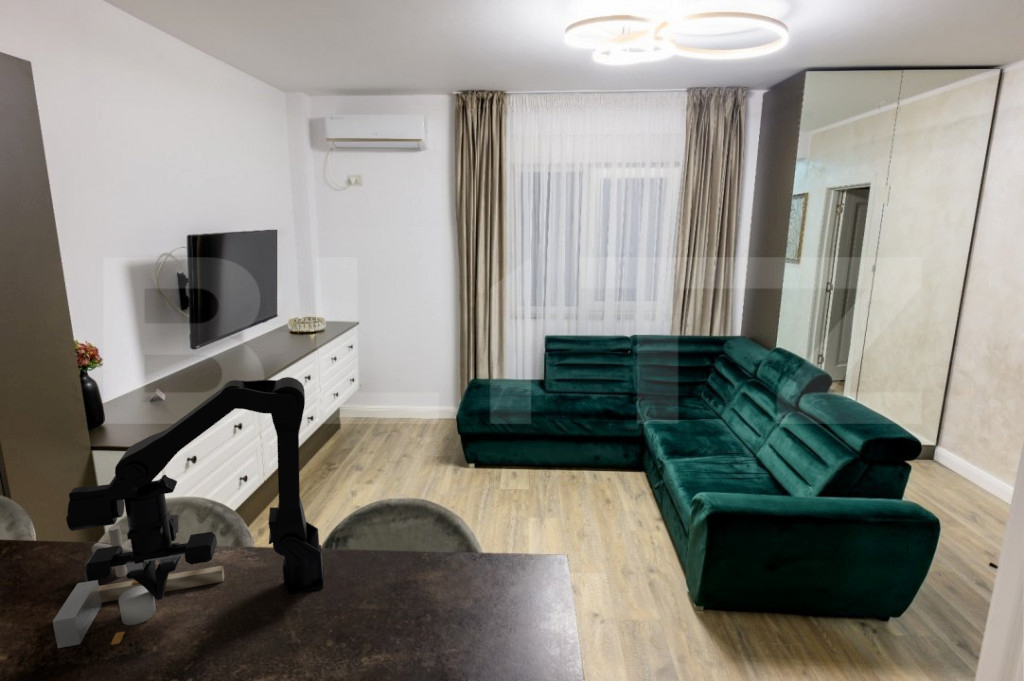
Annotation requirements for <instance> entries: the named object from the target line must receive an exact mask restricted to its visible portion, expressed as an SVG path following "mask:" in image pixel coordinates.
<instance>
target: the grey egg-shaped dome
mask: <svg viewBox="0 0 1024 681" xmlns="http://www.w3.org/2000/svg"><path fill="white" fill-rule="evenodd" d="M155 600H156V599H155V597H154V596H153V595H152V594H151V593H150V592H149V591H148V590H147V589H146V588H145V587H143V586H138V587H134V588H132V589H129V590H127V591H126V592H124V593H123V594H122V595H121V596H120V597H119V600H118V606H119V611H120V617H121V622H122V623H123V624H124V625H126V626H135V625H139V624H141V623H144V622H146V621H148V620H150V619H151V618H152V617H153V616H154V615H155V614H156V612H157V609H156V608H157V607H156V601H155Z"/></svg>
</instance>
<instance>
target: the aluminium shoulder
mask: <svg viewBox="0 0 1024 681" xmlns="http://www.w3.org/2000/svg"><path fill="white" fill-rule="evenodd" d="M99 586H100V585H99V580H95V581H89V582H88V581H84V582H78V583H77V584H76V585H75V587H74V589H73V590H72V591H71V593H70V594H69V596H68V597H67V599H66V600H65V602H64V603H63V605H62V606H61V608H60V609H59V611H58V613H57V614H56V616H55V617H54V618H53V620H52V626H53V631H54V636H55V641H56V645H57V649H61V648H66V647H67V648H68V647H72V646H77V645H81V643H82V642H83V640H84V638H85V635H87V632H88V630H89V629H90V628H91V625H92V623H93V621H94V620H95V618H96V616H97V615H98V613H99V611H100V609H101V608H102V606H103V602H101V596H100V590H99Z"/></svg>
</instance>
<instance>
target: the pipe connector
mask: <svg viewBox="0 0 1024 681" xmlns="http://www.w3.org/2000/svg"><path fill="white" fill-rule="evenodd" d="M108 534H109V536H108V537H109V541H110V544H108V543H102V542H101V543H100V542H99V543H98V542H96V543H95V544H93V545H92V547H91V552H92V554H93V553H94V552H95V551H96V550H97V549H100V548H106V547H113V546H121V547H122V548H123V553H126V552H132V546H131V540H130V539H129V540H128V539H126V540H125V541H123V538H122V531H121V526H120V525H119V524H118V525H115V524H114V525H113V526H112V525H111V526H110V527H108ZM114 571H115V576H116V578H122V577H125V576H126V575H127V573H128V569H127V567H126V565H120V566H114Z"/></svg>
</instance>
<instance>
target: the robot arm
mask: <svg viewBox="0 0 1024 681" xmlns="http://www.w3.org/2000/svg"><path fill="white" fill-rule="evenodd" d="M305 404H306V397H305V388H304V385H303V383H302V382H301V381H299V379H297V378H295V377H290V376H286V377H281V378H279V379H278V380H276V379H259V380H237V379H234V380H230V381H227V382H226V383H225V384H224V385H223V386H222V388H220V389H219V390H217V391H216V392H215V393H214V394H212V395H211V396H210V397H208V398H206V400H204V401H203V402H202V403H200V404H199V405H197V406H196V407H194V409H192V410H191V411H190V412H188V413H186V414H185V415H184V416H183V417H181V418H179V419H178V420H177V421H176V422H174V423H173V424H171V425H170V426H169V427H168V428H166V429H165V430H162V431H160V432H157V433H154V434H152V435H149V436H148V437H145V438H143V439H142V440H140V441H138V442H136V443H134V444H132V445H131V446H129V447H128V448H127V449H126V451H125V452H124V454H123V455H122V457H121V458H120V459H119V461H118V462H117V464H116V465H115V467H114V477H113V478H112V480H111V481H110V483H108V484H102V485H94V486H93V485H92V486H79V487H73V489H71V491H70V492H69V493H68V498H69V500H68V503H67V504H68V506H67V516H66V518H65V520H66V524H67V527H68V529H69V530H70V531H71V532H74V531H82V530H87V529H93V528H94V529H95V528H100V527H106V526H112V525H113V526H114V525H115V524H116V522H117V520H118V518H122V517H123V516H124V512H125V513H126V515H125V516H126V520H127V521H126V522H127V526H128V532H127V533H126V536H127V540H129V539H130V540H131V546H132V552H126V553H123V548H122V547H121V546H113V547H106V548H100V549H97V550H96V551H95V552H94V553H93V552H92V554H91V556H90V558H89V559H88V560H87V562H86V563H85V565H84V568H83V575H84V581H85V582H89V581H95V580H98V581H100V580H107V578H108V577H110V575H112V572H113V569H112V567H113V568H115V566H120V565H126V567H127V574H126V575H125V576H126V579H127V580H136V581H137V582H138V583H140V584H141V585H142V586H143V587H145V588H146V589H147V590H148V591H149V592H150V593H151V594H152V595H153V596H154V599H155V600H156V601H159V600H163V598H164V595H165V592H164V591H165V587H166V583H167V579H168V575H169V574H170V573H172V572H174V571H176V570H177V567H178V565H179V562H180V559H181V557H183V556H184V560H185V562H186V563H188V564H189V565H197V564H204V563H208V562H210V561H212V560H213V557H214V554H215V552H216V549H217V545H218V540H217V535H216V534H215V533H214V532H213V531H207V532H200V533H194V534H190V536H189V538H188V541H187V542H183V543H180V542H174V541H176V539H177V533H179V514H172V515H171V514H170V512H168V506H167V501H166V494H167V495H168V494H172V493H174V491H175V489H176V486H177V485H178V481H177V480H176V479H174V478H171V477H168V476H167V474H163V475H162V476H161V478H160V479H158V480H155V478H156V477H157V476H158V475H159V474H160V473H161V472H162V471H163V469H165V468H166V467H167V465H168V464H169V463H170V462H171V460H173V458H175V456H176V455H177V454H178V452H180V451H181V450H182V449H184V448H185V447H186V446H188V445H189V444H190V443H191V442H193V441H194V440H195V439H197V438H198V437H200V436H201V435H202V434H204V433H205V432H206V431H207V430H208V429H210V428H211V427H213V426H214V425H216V424H217V423H218V422H219V421H221V420H222V419H223V418H225V417H226V416H228V415H229V414H230V413H231V412H233V411H234V410H236V409H237V410H246V411H251V412H255V413H260V414H270V415H271V418H272V419H271V420H272V423H273V427H274V430H275V433H276V438H277V439H276V441H277V442H276V444H277V479H278V480H277V482H278V483H277V484H278V485H277V486H278V488H277V489H278V503H277V507H274V506H273V507H271V506H270V507H269V514H268V529H269V532H268V533H269V536H268V545H271V544H272V547H273V551H274V553H277V554H278V555H280V556H282V557H283V558H284V559H283V561H282V575H283V576H282V577H283V585H284V586H285V587H286V594H287V595H292V594H297V593H303V592H308V591H314V590H320V589H323V588H324V585H325V582H324V578H325V577H324V576H325V575H324V573H325V572H324V570H325V567H324V566H323V556H322V545H321V544H320V538H319V537H320V536H319V529H318V528H317V527H316V526H314V525H313V524H312V523H310V522H308V521H307V520H306V519H307V518H306V515H305V510H304V506H303V503H302V500H301V494H300V493H301V492H300V491H301V490H300V444H299V442H300V438H299V436H300V431H301V427H302V426H301V425H302V421H303V415H304V412H305V411H304V410H305ZM156 561H157V562H158V565H157V567H156Z"/></svg>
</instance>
